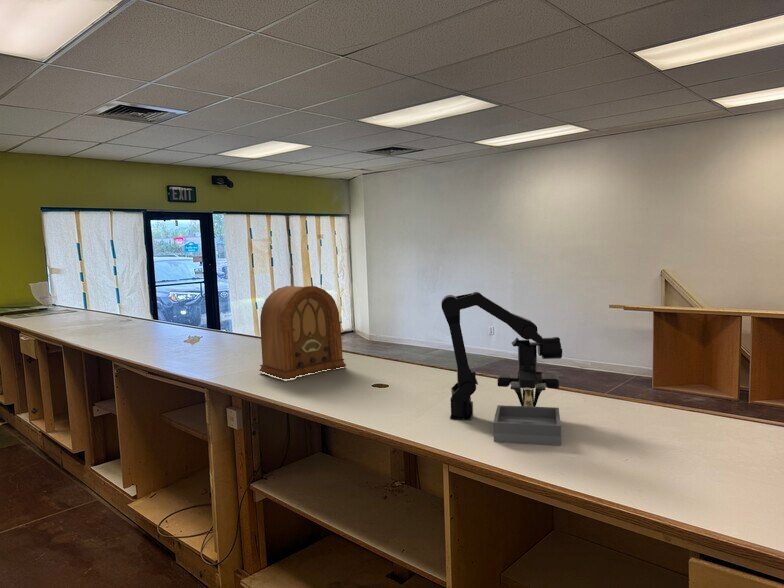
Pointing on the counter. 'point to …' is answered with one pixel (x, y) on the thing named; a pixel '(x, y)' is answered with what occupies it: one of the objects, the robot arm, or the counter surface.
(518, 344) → the robot arm
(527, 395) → the brass peg
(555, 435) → the tray
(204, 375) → the counter surface
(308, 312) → the radio
